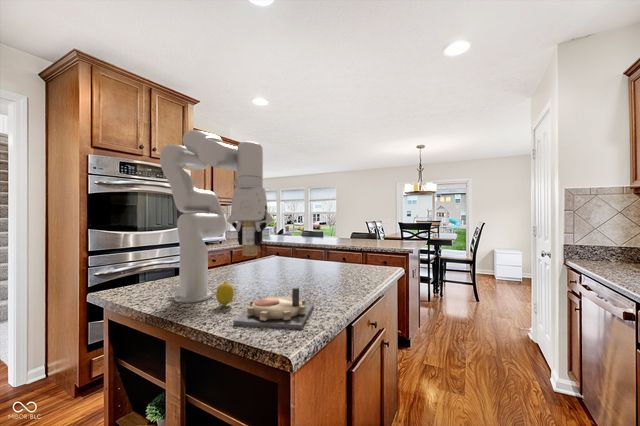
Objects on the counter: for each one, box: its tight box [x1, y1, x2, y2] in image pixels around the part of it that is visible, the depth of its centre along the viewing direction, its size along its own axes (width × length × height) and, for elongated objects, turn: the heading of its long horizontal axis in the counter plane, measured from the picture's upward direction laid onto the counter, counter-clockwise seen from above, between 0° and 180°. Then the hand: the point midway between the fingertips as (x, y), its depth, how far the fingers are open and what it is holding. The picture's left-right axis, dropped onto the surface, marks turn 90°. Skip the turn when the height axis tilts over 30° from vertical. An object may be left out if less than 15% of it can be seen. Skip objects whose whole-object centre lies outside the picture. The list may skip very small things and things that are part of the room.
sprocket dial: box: [246, 287, 306, 321], centre depth 84 cm, size 18×18×7 cm
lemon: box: [216, 281, 235, 307], centre depth 93 cm, size 6×6×8 cm
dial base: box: [232, 302, 315, 330], centre depth 84 cm, size 19×19×1 cm
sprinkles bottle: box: [241, 221, 258, 257], centre depth 83 cm, size 5×5×14 cm
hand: (250, 244), depth 83 cm, fingers closed on sprinkles bottle, 4 cm apart
